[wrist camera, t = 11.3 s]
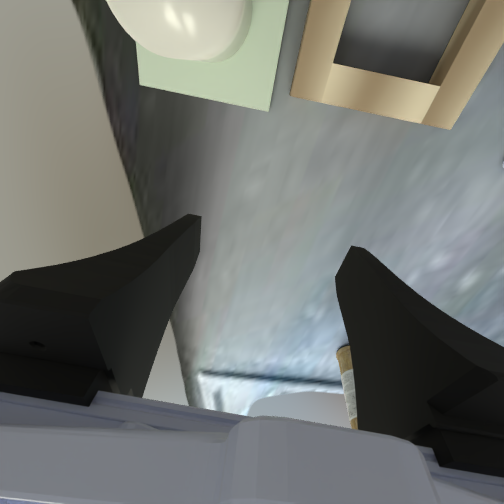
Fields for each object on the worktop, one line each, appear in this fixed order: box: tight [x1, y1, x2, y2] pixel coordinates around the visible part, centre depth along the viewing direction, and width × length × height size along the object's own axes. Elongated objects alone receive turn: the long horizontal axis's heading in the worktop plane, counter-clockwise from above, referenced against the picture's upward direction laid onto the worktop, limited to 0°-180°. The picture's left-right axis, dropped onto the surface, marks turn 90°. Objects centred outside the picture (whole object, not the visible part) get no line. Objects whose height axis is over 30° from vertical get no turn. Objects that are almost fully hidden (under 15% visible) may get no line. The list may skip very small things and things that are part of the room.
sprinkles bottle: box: [336, 345, 358, 430], centre depth 28 cm, size 5×5×14 cm
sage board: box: [136, 0, 289, 112], centre depth 14 cm, size 9×9×1 cm
